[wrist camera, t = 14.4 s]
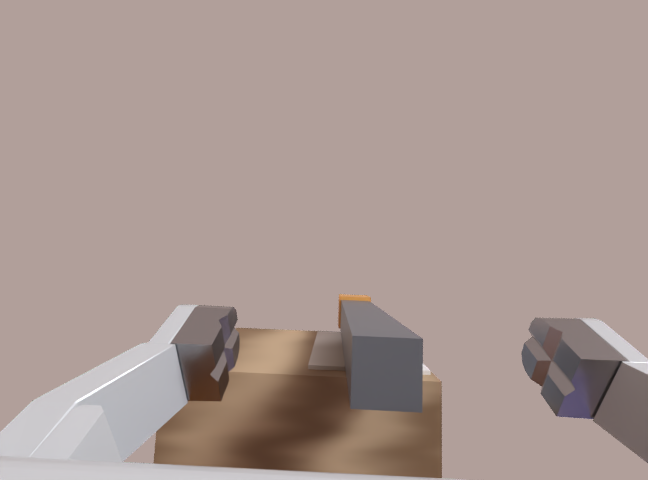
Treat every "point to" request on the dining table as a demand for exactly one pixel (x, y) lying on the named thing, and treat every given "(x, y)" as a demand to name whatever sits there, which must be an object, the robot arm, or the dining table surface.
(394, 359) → the marker
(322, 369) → the wood grain block
